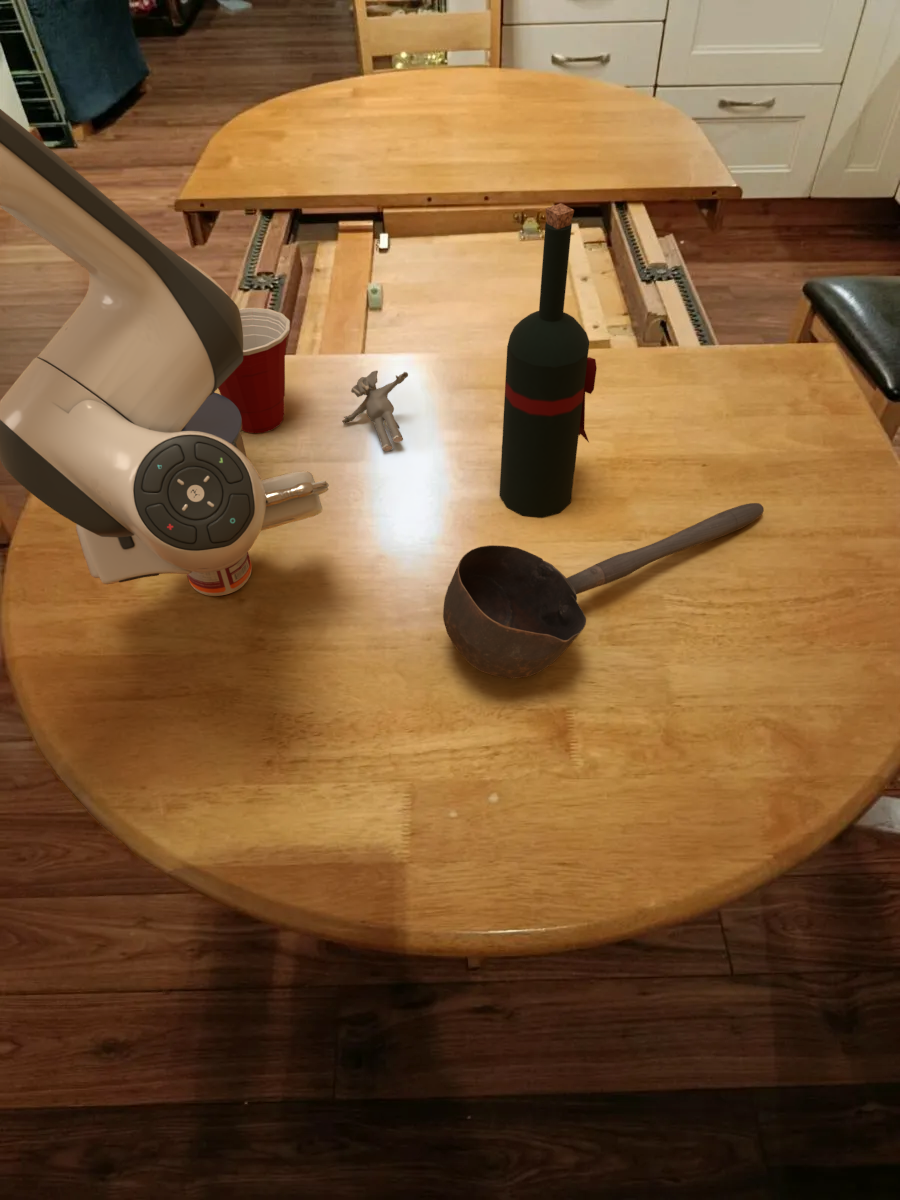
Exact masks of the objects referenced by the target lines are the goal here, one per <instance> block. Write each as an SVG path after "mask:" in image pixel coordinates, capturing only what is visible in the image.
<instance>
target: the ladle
mask: <svg viewBox="0 0 900 1200" xmlns="http://www.w3.org/2000/svg"><path fill="white" fill-rule="evenodd" d="M764 508H765V507H764V506H763V505H762V504H761V503H759V502H750V503H744V504H741V505H737V506H735V507H732V508H729V509H726V510H723V511H721V512H719V513H716V514H714V515H712V516H710V517H708V518H705V519H703V520H702V521H699V522H697V523H695V524H693V525H690V526H689V527H686V528H684V529H682V530H679V531H678V532H676V533H673V534H671V535H669V536H667V537H665V538H662V539H660V540H657V541H655V542H653V543H651V544H648V545H645V546H642V547H639V548H637V549H634V550H630V551H626V552H623V553H618V554H616V555H613V556H611V557H609V558H607V559H605V560H602V561H600V562H597V563H595V564H593V565H591V566H589V567H588V568H585V569H583V570H581V571H579V572H576V573H574V574H572V575H570V576H568V577H566V576H565V575H564V574H563V573H562V572H561V571H560V570H558V568H556V567H555V566H554V564H551V563H550V562H548V561H546V560H544V559H543V558H541V557H539V556H537V555H536V554H533V553H531V552H529V551H527V550H525V549H522V548H519V547H516V546H510V545H498V544H497V545H490V544H489V545H483V546H478V547H475V548H473V549H471V550H469V551H467V552H466V553H465V554H464V555H463V556H462V557H461V558H460V560H459V562H458V565H457V566H456V569H455V572H454V574H453V575H452V577H451V579H450V582H449V584H448V586H447V590H446V592H445V596H444V602H443V610H442V611H443V612H442V620H443V624H444V628H445V630H446V633H447V635H448V637H449V639H450V640H451V643H452V644H453V646H454V647H455V648H456V650H457V651H458V652H459V654H460V655H461V656H462V657H463V659H464V660H465V661H466V662H468V664H470V666H472V667H474V668H475V669H476V670H478V671H480V672H482V673H485V674H488V675H491V676H495V677H499V678H503V679H520V678H525V677H531V676H534V675H537V674H538V673H540V672H542V671H543V670H545V669H547V668H548V667H550V666H551V665H552V664H553V663H555V662H556V660H558V658H560V657H561V656H562V655H563V653H564V652H566V650H567V649H568V648H569V646H570V645H572V643H573V641H574V640H576V639H577V637H578V636H579V635H580V634H581V633H582V632H583V630H584V629H585V627H586V624H587V617H586V615H585V613H584V611H583V609H582V608H581V606H580V605H579V603H578V602H577V601H578V597H577V595H579V594H582V593H585V592H588V591H589V590H593V589H595V588H598V587H602V586H604V585H608V584H610V583H613V582H615V581H617V580H620V579H623V578H625V577H627V576H629V575H631V574H633V573H634V572H636V571H639V569H642V568H644V567H645V566H647V565H649V564H651V563H653V562H656V561H658V560H661V559H663V558H665V557H668V556H671V555H673V554H675V553H676V554H677V553H678V552H682V551H685V550H687V549H690V548H694V547H696V546H699V545H701V544H705V543H707V542H710V541H713V540H716V539H718V538H722V537H724V536H727V535H729V534H732V533H733V532H736V531H738V530H740V529H742V528H744V527H747V526H749V524H751V523H754V522H755V521H756V520H757V519H759V517H761V516H762V515H763V514H764V512H765V511H764Z"/></svg>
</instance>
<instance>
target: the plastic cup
mask: <svg viewBox="0 0 900 1200" xmlns="http://www.w3.org/2000/svg"><path fill="white" fill-rule="evenodd" d="M239 312H240V316H241V322H242V330H243V361H242V363H241V364H240V365H239V366H238V367H237V368H236V369H235V371H234V372H233V373H232V374H231V375H230V376H229V377H228V378H227V379H226V380H225V381H224V382H223V383H222V384H221V385H220V387H219V388H218V389H217V390H218V391H219V394H220V395H222V396H224V397H226V398H228V399H229V400H231V401H232V402H233V403H234V404H235V405H236V406H237V408H238V409H239V411H240V414H241V417H242V431H243V432H244V433H250V434H264V433H268V432H270V431H274V430H275V429H276V428H278V427H279V426H280V425H281V424H282V423H283V421H284V416H285V396H286V348H287V339H288V335H289V334H290V328H291V327H290V326H291V325H290V324H291V320H290V319H289V318H288V317H287V316H285V314H284V313H282V312H279V311H276V310H273V309H271V308H260V307H259V308H258V307H244V308H239Z"/></svg>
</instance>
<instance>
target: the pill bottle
mask: <svg viewBox="0 0 900 1200" xmlns="http://www.w3.org/2000/svg"><path fill="white" fill-rule="evenodd" d="M252 570H253V567H252V561H251V557H250V554H249V552H248V553H247V554H246V555H245V556H244V557H243V558H242V559H240V560H239V561H238V562H237V563H235V564H234V565H232V566H230V567H228V568H225V569H223V570H219V571H215V572H208V573H200V572H192V573H190V574H186V577H187V579H188V581H189V585H190V586H191V587H192V588H193V589H194V590H195V591H196V592H198V593H199V594H202V595H204V596H209V597H210V596H211V597H220V596H226V595H230V594H232V593H234V592H237V591H238V590H240V589H241V588H243V586H244V585H246V584H247V583H248V581H249V579H250V578H251V574H252Z"/></svg>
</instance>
